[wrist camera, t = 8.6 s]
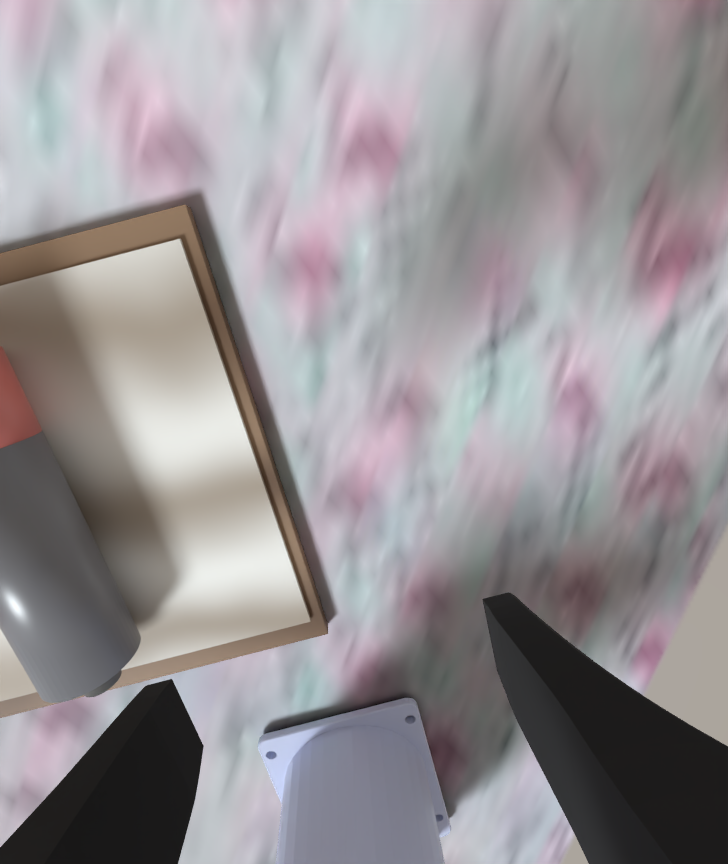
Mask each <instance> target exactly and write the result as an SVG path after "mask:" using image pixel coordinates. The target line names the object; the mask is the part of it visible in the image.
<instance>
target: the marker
mask: <svg viewBox="0 0 728 864" xmlns="http://www.w3.org/2000/svg"><path fill="white" fill-rule="evenodd" d="M0 629H1V631H2V632H3V634H4V636H5V638H6V639H7V641H8V643H9V644H10V646H11V648H12V649H13V651H14V653H15V655H16V656H17V658H18V660H19V661H20V663H21V665H22V667H23V668H24V670H25V672H26V673H27V675H28V677H29V678H30V680H31V682H32V684H33V685H34V687H35V689H36V690H37V692H38V694H39V696H40V697H41V699H42V700H44V701H46V702H49V703H59V702H65V701H69V700H72V699H75V698H77V697H80V696H82V695H84V696H86V697H94V696H97V695H100V694H102V693H104V692H105V691H107V690H108V689H110V688H111V687H112V686H113V685H114V684H115V683H116V682H117V681H118V680H119V678H120V676H121V674H122V670H121V669H122V668H123V667H124V666H125V665H126V664H127V663H128V662H129V661H130V660H131V659H132V657H133V656H134V655H135V653H136V652H137V650H138V648H139V645H140V642H141V636H140V633H139V631H138V629H137V627H136V625H135V622H134V620H133V618H132V616H131V614H130V612H129V610H128V608H127V606H126V604H125V602H124V599H123V597H122V595H121V593H120V591H119V589H118V587H117V585H116V583H115V581H114V579H113V577H112V574H111V572H110V570H109V568H108V566H107V564H106V562H105V560H104V558H103V556H102V554H101V551H100V549H99V547H98V545H97V543H96V541H95V539H94V537H93V535H92V533H91V531H90V528H89V526H88V524H87V522H86V520H85V518H84V516H83V514H82V512H81V510H80V508H79V506H78V503H77V501H76V499H75V497H74V495H73V493H72V491H71V489H70V487H69V485H68V483H67V480H66V478H65V476H64V474H63V472H62V470H61V468H60V466H59V464H58V462H57V460H56V457H55V455H54V453H53V451H52V449H51V447H50V445H49V443H48V441H47V439H46V437H45V435H44V432H43V430H42V428H41V426H40V424H39V422H38V420H37V418H36V416H35V414H34V412H33V409H32V407H31V405H30V403H29V401H28V399H27V397H26V395H25V393H24V391H23V389H22V386H21V384H20V382H19V380H18V378H17V376H16V374H15V372H14V370H13V368H12V366H11V364H10V361H9V359H8V357H7V355H6V353H5V351H4V349H3V347H2V346H0Z"/></svg>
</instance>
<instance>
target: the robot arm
mask: <svg viewBox="0 0 728 864" xmlns="http://www.w3.org/2000/svg"><path fill="white" fill-rule="evenodd" d="M483 604H484V608H485V613H486V618H487V623H488V628H489V633H490V638H491V643H492V648H493V652H494V657H495V662H496V667H497V671H498V674H499V676H500V679H501V682H502V684H503V687H504V689H505V692H506V694H507V697H508V700H509V702H510V705H511V707H512V710H513V712H514V715H515V717H516V719H517V721H518V723H519V725H520V727H521V729H522V731H523V733H524V735H525V737H526V739H527V741H528V743H529V745H530V747H531V749H532V751H533V753H534V755H535V757H536V759H537V761H538V763H539V765H540V767H541V769H542V771H543V773H544V774H545V776H546V778H547V780H548V782H549V784H550V786H551V788H552V790H553V792H554V794H555V796H556V798H557V800H558V802H559V804H560V806H561V808H562V810H563V812H564V814H565V816H566V818H567V820H568V821H569V823H570V825H571V827H572V829H573V831H574V833H575V835H576V837H577V839H578V842H579V844H580V846H581V848H582V850H583V852H584V854H585V856H586V858H587V861H588V863H589V864H728V746H726V745H724V744H722V743H721V742H719V741H717V740H715V739H714V738H712V737H710V736H708V735H707V734H705V733H703V732H701V731H700V730H698V729H696V728H695V727H693V726H691V725H689V724H688V723H686V722H684V721H683V720H681V719H679V718H678V717H676V716H675V715H673V714H671V713H669V712H668V711H666V710H665V709H663V708H661V707H660V706H658V705H657V704H655V703H653V702H652V701H650V700H649V699H647V698H646V697H644V696H643V695H641V694H640V693H638V692H637V691H635V690H634V689H632V688H631V687H629V686H628V685H626V684H625V683H624V682H622V681H621V680H619V679H618V678H616V677H615V676H614V675H612V674H611V673H609V672H608V671H606V670H605V669H604V668H602V667H601V666H600V665H598V664H597V663H595V662H594V661H593V660H591V659H590V658H589V657H587V656H586V655H585V654H584V653H582V652H581V651H580V650H578V649H577V648H576V647H574V646H573V645H572V644H571V643H569V642H568V641H567V640H565V639H564V638H563V637H562V636H560V635H559V634H558V633H557V632H556V631H554V630H553V629H552V628H551V627H550V626H548V625H547V624H546V623H545V622H544V621H542V620H541V619H540V618H539V617H538V616H537V615H535V614H534V613H533V612H532V611H531V610H530V609H529V608H528V607H526V606H525V605H524V604H523V603H522V602H521V601H520V600H519V599H518V598H517V597H516V596H514V595H513V594H511V593H505V594H501V595H497V596H493V597H489V598H485V599H483ZM409 715H412V716H410V717H407V716H409ZM258 750H259V752H260V755H261V757H262V759H263V762H264V764H265V766H266V769H267V771H268V773H269V776H270V778H271V780H272V783H273V785H274V787H275V790H276V792H277V794H278V797H279V799H280V802H281V804H282V807H281V817H280V827H279V837H278V847H277V857H276V864H445V862H444V857H443V852H442V847H441V842H440V837H444V836H446V835H448V834H449V833H450V831H451V825H450V821H449V817H448V814H447V810H446V807H445V803H444V799H443V796H442V792H441V788H440V785H439V781H438V778H437V774H436V770H435V767H434V763H433V760H432V756H431V752H430V749H429V745H428V742H427V738H426V734H425V731H424V727H423V724H422V720H421V716H420V713H419V709H418V706H417V703H416V701H415V700H414V699H412V698H403V699H399V700H395V701H391V702H387V703H383V704H379V705H375V706H371V707H367V708H363V709H360V710H356V711H352V712H348V713H344V714H340V715H336V716H332V717H328V718H324V719H321V720H317V721H313V722H309V723H305V724H301V725H297V726H293V727H289V728H285V729H282V730H278V731H274V732H270V733H266V734H264V735H262V736H261V737H260V739H259V742H258ZM271 751H273V752H271ZM202 752H203V744H202V742H201V740H200V738H199V736H198V733H197V731H196V729H195V727H194V725H193V723H192V721H191V719H190V716H189V714H188V712H187V710H186V708H185V706H184V704H183V702H182V700H181V697H180V695H179V693H178V691H177V689H176V687H175V685H174V683H173V680H172V679H170V680H166V681H163V682H159V683H155V684H151V685H147V686H145V687H144V688H143V689H142V690H141V691H140V692H139V693H138V694H137V696H136V697H135V698H134V699H133V700H132V701H131V702H130V703H129V704H128V705H127V707H126V708H125V709H124V710H123V711H122V712H121V713H120V715H119V716H118V717H117V718H116V719H115V720H114V721H113V723H112V724H111V725H110V726H109V727H108V728H107V729H106V731H105V732H104V733H103V734H102V735H101V736H100V738H99V739H98V740H97V741H96V742H95V743H94V744H93V746H92V747H91V748H90V749H89V750H88V751H87V752H86V754H85V755H84V756H83V757H82V758H81V759H80V761H79V762H78V763H77V764H76V765H75V766H74V767H73V769H72V770H71V771H70V772H69V773H68V774H67V775H66V777H65V778H64V779H63V780H62V781H61V782H60V783H59V784H58V786H57V787H56V788H55V789H54V790H53V791H52V792H51V793H50V794H49V795H48V796H47V797H46V799H45V800H44V801H43V802H42V803H41V804H40V805H39V806H38V807H37V808H36V809H35V811H34V812H33V813H32V814H31V815H30V816H29V817H28V818H27V819H26V820H25V821H24V822H23V824H22V825H21V826H20V827H19V828H18V829H17V830H16V831H15V832H14V833H13V834H12V835H11V837H10V838H9V839H8V840H7V841H6V842H5V843H4V844H3V845H2V846H1V847H0V864H178V861H179V857H180V854H181V850H182V846H183V843H184V839H185V835H186V831H187V828H188V824H189V820H190V817H191V813H192V809H193V805H194V801H195V796H196V790H197V785H198V779H199V773H200V766H201V759H202Z"/></svg>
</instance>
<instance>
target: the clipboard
mask: <svg viewBox="0 0 728 864" xmlns="http://www.w3.org/2000/svg"><path fill="white" fill-rule="evenodd" d="M0 346H2V347H3V349H4V351H5V353H6V355H7V357H8V359H9V361H10V364H11V366H12V368H13V370H14V372H15V374H16V376H17V378H18V380H19V382H20V384H21V386H22V389H23V391H24V393H25V395H26V397H27V399H28V401H29V403H30V405H31V407H32V409H33V412H34V414H35V416H36V418H37V420H38V422H39V424H40V426H41V428H42V430H43V432H44V435H45V437H46V439H47V441H48V443H49V445H50V447H51V449H52V451H53V453H54V455H55V457H56V460H57V462H58V464H59V466H60V468H61V470H62V472H63V474H64V476H65V478H66V480H67V483H68V485H69V487H70V489H71V491H72V493H73V495H74V497H75V499H76V501H77V503H78V506H79V508H80V510H81V512H82V514H83V516H84V518H85V520H86V522H87V524H88V526H89V528H90V531H91V533H92V535H93V537H94V539H95V541H96V543H97V545H98V547H99V549H100V551H101V554H102V556H103V558H104V560H105V562H106V564H107V566H108V568H109V570H110V572H111V574H112V577H113V579H114V581H115V583H116V585H117V587H118V589H119V591H120V593H121V595H122V597H123V599H124V602H125V604H126V606H127V608H128V610H129V612H130V614H131V616H132V618H133V620H134V622H135V625H136V627H137V629H138V631H139V633H140V636H141V642H140V645H139V648H138V650H137V652H136V653H135V655H134V656H133V657H132V659H131V660H130V661H129V662H128V663H127V664H126V665H125V666H124V667H123V668H122V669H121V670H122V674H121V676H120V678H119V680H118V681H117V682H116V683H115V684H114V685H113V686H112V687H111V688H110V689H108V690H111V689H115V688H119V687H123V686H127V685H131V684H135V683H138V682H142V681H146V680H150V679H154V678H158V677H162V676H166V675H170V674H173V673H177V672H181V671H185V670H189V669H193V668H197V667H201V666H205V665H208V664H212V663H216V662H220V661H224V660H228V659H232V658H236V657H239V656H243V655H247V654H251V653H255V652H259V651H263V650H267V649H271V648H274V647H278V646H282V645H286V644H290V643H294V642H298V641H302V640H306V639H309V638H313V637H317V636H321V635H325V634H328V623H327V620H326V617H325V614H324V611H323V608H322V605H321V602H320V599H319V596H318V593H317V590H316V587H315V584H314V581H313V578H312V575H311V572H310V569H309V566H308V563H307V559H306V556H305V553H304V550H303V547H302V544H301V541H300V538H299V535H298V532H297V529H296V526H295V523H294V520H293V517H292V514H291V511H290V508H289V505H288V502H287V499H286V496H285V493H284V490H283V487H282V484H281V481H280V478H279V475H278V472H277V468H276V465H275V462H274V459H273V456H272V453H271V450H270V447H269V444H268V441H267V438H266V435H265V432H264V429H263V426H262V423H261V420H260V417H259V414H258V411H257V408H256V405H255V402H254V399H253V396H252V393H251V390H250V387H249V384H248V381H247V377H246V374H245V371H244V368H243V365H242V362H241V359H240V356H239V353H238V350H237V347H236V344H235V341H234V338H233V335H232V332H231V329H230V326H229V323H228V320H227V317H226V314H225V311H224V308H223V305H222V302H221V299H220V296H219V293H218V290H217V286H216V283H215V280H214V277H213V274H212V271H211V268H210V265H209V262H208V259H207V256H206V253H205V250H204V247H203V244H202V241H201V238H200V235H199V232H198V229H197V226H196V223H195V220H194V217H193V214H192V211H191V208H190V207H188V206H187V205H181V206H177V207H174V208H170V209H166V210H162V211H159V212H155V213H151V214H147V215H143V216H140V217H136V218H132V219H128V220H124V221H121V222H117V223H113V224H109V225H105V226H102V227H98V228H94V229H90V230H87V231H83V232H79V233H75V234H71V235H68V236H64V237H60V238H56V239H52V240H49V241H45V242H41V243H37V244H33V245H30V246H26V247H22V248H18V249H15V250H11V251H7V252H3V253H0ZM80 697H84V695H82V696H80ZM80 697H77V698H80ZM75 699H76V698H75ZM59 703H61V702H59ZM53 704H57V703H49V702H46V701H44V700H42V699H41V697H40V696H39V694H38V692H37V690H36V689H35V687H34V685H33V684H32V682H31V680H30V678H29V677H28V675H27V673H26V672H25V670H24V668H23V667H22V665H21V663H20V661H19V660H18V658H17V656H16V655H15V653H14V651H13V649H12V648H11V646H10V644H9V643H8V641H7V639H6V638H5V636H4V634H3V632H2V631H1V629H0V718H2V717H6V716H10V715H14V714H18V713H22V712H26V711H30V710H34V709H37V708H41V707H45V706H49V705H53Z"/></svg>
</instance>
